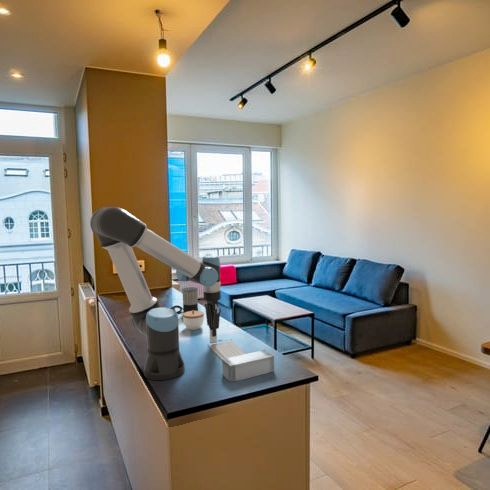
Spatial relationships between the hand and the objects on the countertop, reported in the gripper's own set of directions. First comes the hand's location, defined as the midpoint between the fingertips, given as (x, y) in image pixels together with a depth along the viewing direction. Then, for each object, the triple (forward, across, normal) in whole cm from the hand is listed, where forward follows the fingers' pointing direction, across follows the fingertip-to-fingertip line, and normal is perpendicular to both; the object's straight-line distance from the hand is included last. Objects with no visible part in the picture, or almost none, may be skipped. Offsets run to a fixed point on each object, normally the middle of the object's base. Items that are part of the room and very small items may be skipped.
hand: (213, 342), depth 172 cm
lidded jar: (+2, +29, -1) cm, 29 cm away
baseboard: (+2, -16, -1) cm, 17 cm away
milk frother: (+2, +59, -6) cm, 59 cm away
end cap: (+1, -33, 0) cm, 33 cm away
